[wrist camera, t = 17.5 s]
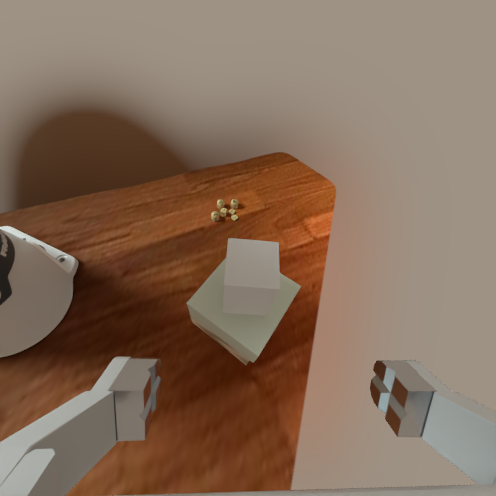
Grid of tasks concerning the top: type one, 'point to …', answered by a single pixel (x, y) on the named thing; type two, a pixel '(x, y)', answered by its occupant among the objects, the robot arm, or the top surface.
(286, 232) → the top surface
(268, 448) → the top surface
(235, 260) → the grey block
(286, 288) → the sage block
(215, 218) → the beige lumpy cluster
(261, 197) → the top surface
